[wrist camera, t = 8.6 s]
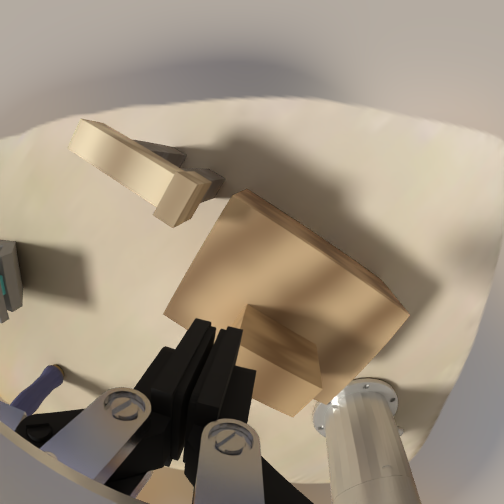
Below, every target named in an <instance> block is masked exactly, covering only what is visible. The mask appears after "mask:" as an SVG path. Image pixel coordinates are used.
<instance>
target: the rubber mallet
mask: <svg viewBox="0 0 504 504" xmlns="http://www.w3.org/2000/svg"><path fill="white" fill-rule="evenodd" d="M63 377H64V373H63V371H62V370H61V369H60V367H58V366H57V365H50V366H47V367H46V368H45V369H44V371H43V373H42V374H41V376H40V377H39V378H38V379H37V380H36V381H35V382H34V383H33V384H31V385H30V386H29V387H28V388H26V389H25V390H23V391H22V392H21V393H20V394H19V395H18V396H17V397H16V398H15V399H14V400H13V402H12V403H11V404H10V405H11V406H13V407H15V408H18V409H20V410H22V411H25V412H26V415H27V416H30V415H32V414H33V413H34V412H35V411H36V410H37V409H38V407H39V406H40V404H41V403H42V401H43V400H44V399H45V398H46V397H47V396H48V395H49V394H50V392H51V391H52V390H53V389H55V388H56V387H58V386H60V385H61V384H62V383H63Z"/></svg>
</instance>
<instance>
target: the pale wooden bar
mask: <svg viewBox="0 0 504 504" xmlns="http://www.w3.org/2000/svg"><path fill="white" fill-rule="evenodd" d="M68 149H69V150H71V151H72V152H74V153H75V154H77V155H78V156H80V157H81V158H83V159H84V160H86V161H87V162H89V163H90V164H92V165H93V166H95V167H96V168H98V169H99V170H101V171H102V172H104V173H105V174H107V175H108V176H110V177H111V178H113V179H114V180H116V181H117V182H119V183H120V184H122V185H123V186H125V187H126V188H128V189H129V190H131V191H132V192H134V193H135V194H137V195H139V196H140V197H142V198H143V199H145V200H146V201H148V202H149V203H151V204H152V205H154V206H155V207H157V208H156V210H155V212H154V214H153V216H155V217H156V218H158V219H160V220H161V221H163V222H164V223H166V224H167V225H169V226H170V227H172V228H174V227H176V226H178V225H180V224H182V223H183V222H185V221H187V220H189V219H191V218H192V216H193V214H194V213H195V211H196V209H197V207H198V206H199V204H200V202H201V200H202V199H203V197H204V195H205V194H206V192H207V190H208V189H209V187H210V185H211V183H212V182H211V181H209V180H208V179H206V178H204V177H203V176H201V175H200V174H198V173H196V172H195V171H184V170H182V169H180V168H179V167H177V166H175V165H174V164H172V163H170V162H169V161H167V160H165V159H164V158H162V157H160V156H159V155H157V154H155V153H154V152H152V151H150V150H149V149H147V148H145V147H143V146H142V145H140V144H138V143H137V142H135V141H133V140H132V139H130V138H128V137H126V136H125V135H123V134H121V133H119V132H118V131H116V130H114V129H112V128H111V127H109V126H107V125H105V124H104V123H100V122H95V121H90V120H85V119H80V121H79V124H78V126H77V128H76V130H75V132H74V134H73V137H72V139H71V141H70V143H69V146H68Z"/></svg>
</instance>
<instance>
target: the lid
mask: <svg viewBox="0 0 504 504" xmlns="http://www.w3.org/2000/svg"><path fill="white" fill-rule="evenodd" d="M163 314H164V315H165V316H167V317H168V318H170V319H171V320H173V321H174V322H176V323H177V324H179V325H181V326H182V327H184V328H185V329H187V330H188V329H189V327H190V326H191V324H192V323H193V321H194V320H195V318H198V319H202V320H206V321H210V322H211V326H213V327H216V334H215V340H216V338H217V336H218V333H219V331H220V329H225V330H226V329H227V327H228V326H230V327H234V328H238V329H243V334H242V338H241V343H240V347H239V352H238V356H237V361H236V366H240V367H244V368H248V369H253V370H256V377H255V383H254V388H253V394H252V398H253V399H255V400H257V401H259V402H261V403H263V404H265V405H267V406H269V407H271V408H273V409H276V410H278V411H280V412H282V413H284V414H286V415H289V416H291V417H294V416H295V415H296V414H297V413H298V412H299V411H300V410H302V409H303V408H304V407H305V406H306V405H307V404H308V403H309V402H310V401H311V400H312V399H314V400H317V401H319V402H321V403H323V404H325V405H327V404H328V403H329V402H330V401H331V400H332V399H333V398H334V397H335V396H337V395H338V394H339V393H340V392H341V391H342V390H343V389H344V388H345V387H346V386H347V385H348V384H349V383H350V382H351V381H352V380H353V379H354V378H355V377H356V376H357V375H358V374H359V373H360V372H361V371H362V370H363V369H364V367H365V366H366V365H367V364H368V363H369V362H370V361H371V360H372V359H373V358H374V357H375V356H376V355H377V353H378V352H379V351H380V350H381V349H382V348H383V347H384V346H385V344H386V343H387V342H388V341H389V340H390V339H391V338H392V336H393V335H394V334H395V333H396V332H397V330H398V329H399V328H400V327H401V326H402V324H403V323H404V322H405V321H406V320H407V318H408V317H409V316H410V314H409V313H408V312H407V311H406V309H404V308H403V307H402V306H400V305H399V304H398V303H396V302H395V301H393V300H392V299H391V298H389V297H388V296H386V295H385V294H384V293H382V292H381V291H379V290H378V289H376V288H375V287H374V286H372V285H371V284H369V283H368V282H367V281H365V280H364V279H362V278H361V277H359V276H358V275H357V274H355V273H354V272H352V271H351V270H349V269H348V268H346V267H345V266H343V265H342V264H341V263H339V262H338V261H336V260H335V259H333V258H332V257H330V256H329V255H327V254H326V253H324V252H323V251H321V250H320V249H318V248H317V247H315V246H314V245H312V244H311V243H310V242H308V241H307V240H305V239H303V238H302V237H300V236H299V235H297V234H296V233H294V232H293V231H291V230H290V229H288V228H287V227H285V226H284V225H282V224H281V223H279V222H278V221H276V220H275V219H273V218H271V217H270V216H268V215H267V214H265V213H264V212H262V211H261V210H259V209H257V208H256V207H254V206H253V205H251V204H250V203H248V202H246V201H245V200H243V199H242V198H240V197H238V196H237V195H235V194H234V195H232V197H231V198H230V200H229V202H228V203H227V205H226V207H225V208H224V210H223V211H222V213H221V215H220V216H219V218H218V220H217V221H216V223H215V225H214V226H213V228H212V230H211V231H210V233H209V235H208V236H207V238H206V240H205V241H204V243H203V245H202V247H201V248H200V250H199V252H198V253H197V255H196V257H195V258H194V260H193V262H192V264H191V265H190V267H189V269H188V271H187V272H186V274H185V276H184V278H183V279H182V281H181V283H180V285H179V286H178V288H177V290H176V292H175V294H174V295H173V297H172V299H171V301H170V302H169V304H168V306H167V308H166V310H165V312H164V313H163ZM215 340H214V342H215Z"/></svg>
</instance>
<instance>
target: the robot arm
mask: <svg viewBox="0 0 504 504" xmlns="http://www.w3.org/2000/svg"><path fill="white" fill-rule="evenodd" d="M215 334H216V327H213V326H211V322H210V321H206V320H202V319H198V318H195V320H194V321H193V323H192V324H191V326H190V327H189V329H188V331H187V332H186V334H185V335H184V337H183V338H182V340H181V341H180V343H179V345H178V346H177V348H176V349H172V348H169V347H166V346H165V347H163V348H162V349H161V351H160V352H159V354H158V355H157V356H156V358H155V359H154V361H153V362H152V363H151V365H150V366H149V368H148V369H147V370H146V372H145V373H144V375H143V376H142V378H141V379H140V380H139V382H138V383H137V385H136V386H135V387H134V389H132V388H126V387H118V388H113V389H109V390H107V391H106V392H104V393H103V394H102V395H100V396H99V397H98V398H97V399H96V400H95V401H94V402H92V403H91V404H90V405H89V406H88V407H87V408H86V409H79V410H71V411H63V412H53V413H43V414H34V415H30V416H27V415H26V412H25V411H22V410H20V409H18V408H15V407H13V406H11V405H8V404H6V403H4V402H2V401H0V504H148V503H146V502H143V501H140V500H138V499H135V498H136V497H137V495H138V494H139V492H140V491H141V490H142V488H143V487H144V486H145V484H146V483H147V482H148V480H149V479H150V477H151V476H152V473H153V470H156V469H159V468H162V467H164V465H165V466H168V467H169V466H170V464H171V461H172V459H174V460H177V461H178V460H179V458H180V455H181V453H182V450H183V448H184V455H183V462H184V463H185V471H184V474H185V475H186V477H187V478H188V480H189V481H190V482H191V484H192V485H193V486H194V489H193V497H192V504H313V503H312V502H311V501H310V500H309V499H308V498H306V497H305V496H304V495H303V494H302V493H301V492H299V491H298V490H297V489H296V488H295V487H294V486H293V485H292V484H291V483H289V482H288V481H287V480H286V479H285V478H284V477H283V476H282V475H281V474H280V473H279V472H277V471H276V470H275V469H274V468H273V467H272V466H271V465H270V464H269V463H268V462H267V461H266V460H265V459H264V458H263V457H262V456H261V449H260V440H259V436H258V434H257V433H256V431H255V430H254V429H253V428H252V427H250V426H249V425H248V424H247V421H248V416H249V410H250V405H251V399H252V394H253V388H254V383H255V377H256V370H253V369H248V368H244V367H240V366H236V361H237V356H238V352H239V347H240V343H241V338H242V334H243V329H238V328H234V327H230V326H228V327H227V329H226V330H225V329H220V331H219V333H218V336H217V338H216V340H215ZM214 340H215V342H214ZM397 408H398V397H397V395H396V392H395V391H394V389H393V387H391V386H390V385H389V384H388V383H386V382H384V381H381V380H378V379H370V378H367V379H357V380H352V381H351V382H350V383H349V384H348V385H347V386H346V387H345V388H344V389H343V390H342V391H341V392H340V393H339V394H338V395H337V396H335V397H334V398H333V399H332V400H331V401H330V402H329V403H328V404H327V405H325V404H323V403H321V402H319V401H318V402H317V404H316V406H315V408H314V411H313V423H314V427H315V429H316V430H317V431H318V432H319V433H320V434H321V435H322V436H324V437H326V442H327V452H328V462H329V473H330V485H331V498H332V504H422V503H421V501H420V497H419V494H418V491H417V488H416V485H415V481H414V478H413V475H412V472H411V468H410V465H409V462H408V459H407V456H406V453H405V450H404V447H403V444H402V441H401V438H400V436H401V435H402V434H403V432H404V429H403V428H401V427H398V426H397V425H396V422H395V419H394V415H395V413H396V411H397Z"/></svg>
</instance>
